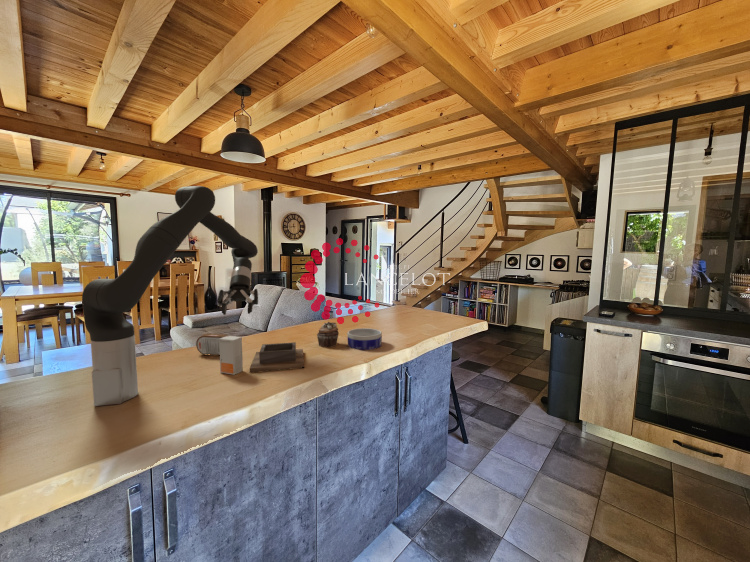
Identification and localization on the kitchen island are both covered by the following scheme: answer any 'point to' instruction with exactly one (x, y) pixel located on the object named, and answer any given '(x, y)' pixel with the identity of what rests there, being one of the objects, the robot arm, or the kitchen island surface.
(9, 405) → the kitchen island surface
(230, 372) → the skincare box
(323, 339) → the cupcake
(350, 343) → the dog bowl
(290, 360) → the bottle holder
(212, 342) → the tin
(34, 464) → the kitchen island surface
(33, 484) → the kitchen island surface
